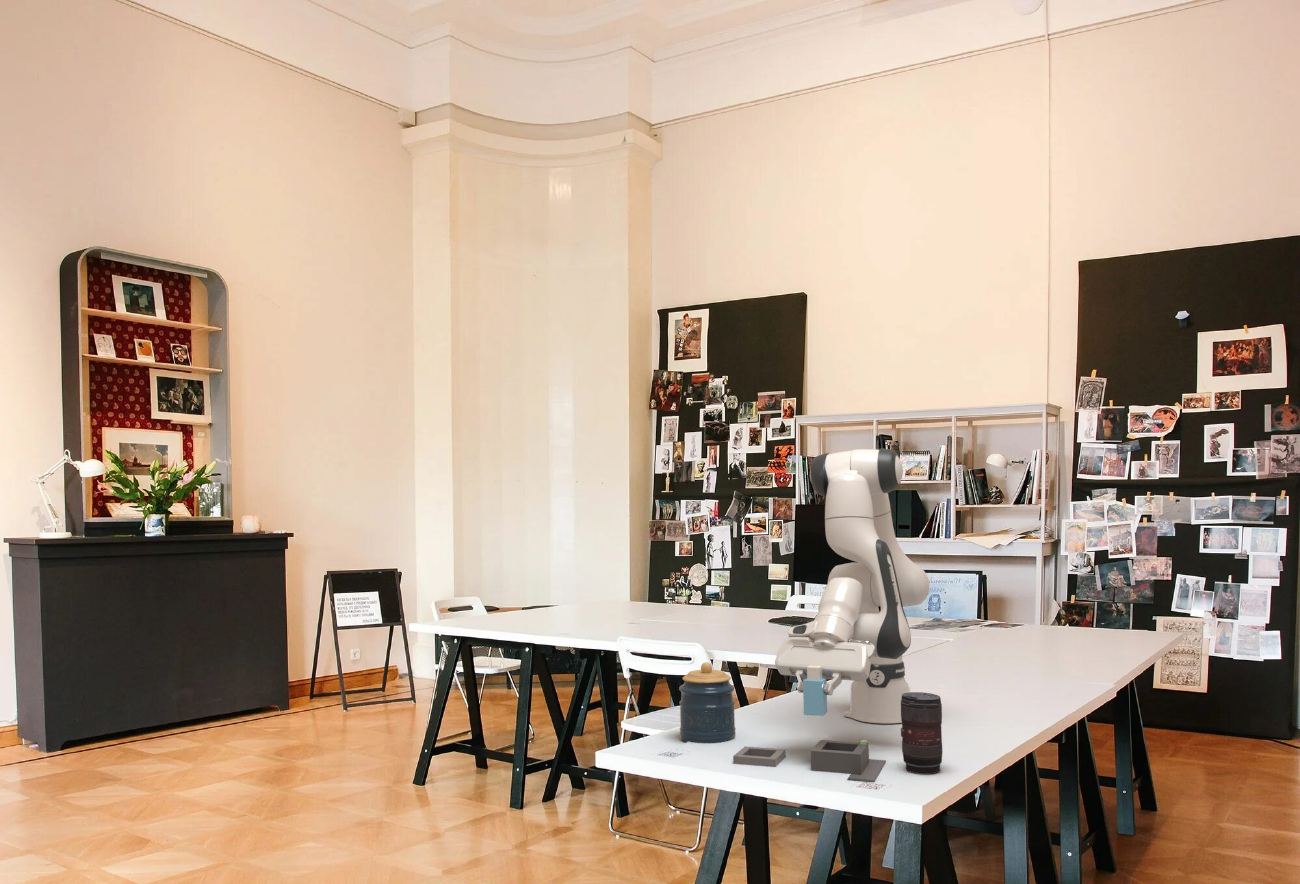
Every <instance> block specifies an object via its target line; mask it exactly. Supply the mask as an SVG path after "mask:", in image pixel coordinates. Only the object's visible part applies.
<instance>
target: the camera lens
mask: <svg viewBox="0 0 1300 884" xmlns="http://www.w3.org/2000/svg"><path fill="white" fill-rule="evenodd" d="M941 699H942V698H941V696H940V695H938V694H935V693H931V692H923V691H922V692H921V691H920V692H919V691H918V692H917V691H916V692H915V691H910V692H908V693H903V694H902V699H901V721H902V723H901V728H900V736H901V738H902V739H901V740H902V741H901V749H902V750H901V751H902V757H903V759H902V760H903V762H904V763H905V769H906V771H907V772H910V773H913V774H921V775H932V774H937V773H939V772H940V771H941V764H942V761H943V739H942V738H943V737H942V723H943V706H942V705H943V704H942V700H941Z"/></svg>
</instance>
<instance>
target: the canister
mask: <svg viewBox="0 0 1300 884" xmlns="http://www.w3.org/2000/svg"><path fill="white" fill-rule="evenodd" d="M731 679H732V677H731V676H730V675H728V674H727V673H726V672H725V671H723V670H718V669H713V666H712V664H711V663H710V662H702V664H701V665H700V669H697V670H695V669H694V670H691V671H689V672H688V673H686V674H685V675H684V676H683V677H682V680H683V681H684V683H683V684H682V685H680V686H679V687H678V690H679V691H680V692H681V699H680V701H679V707H680V709H679V710H680V712H679V714H680V715H679V716H680V719H679V720H680V727H679V731H680V732H679V734H680V739H681V740H682V741H683V742H685V743H689V742H690V743H695V744H720V743H726V742H729V741H732V740H734V739H735V737H736V725H735V723H736V721H735V703H736V701H735V700H734V697H733V692H734V691H735V686H734V685H732V684H731V683H730V680H731Z"/></svg>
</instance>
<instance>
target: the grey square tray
mask: <svg viewBox="0 0 1300 884" xmlns="http://www.w3.org/2000/svg"><path fill="white" fill-rule="evenodd" d="M786 753H787V752H786V749H785V748H773V747H772V748H770V747H759V746H747V745H746V746H743V747H742V748H741V749H740V750H739V751H738V752H736V753H735V754H734V755H732V764H734V765H742V766H744V765H745V766H754V767H755V766H756V767H758V766H759V767H769V768H770V767H771V768H777V766H779V764H781V762H782V761H783V760H784V759H785V758H786V757H787V755H786Z"/></svg>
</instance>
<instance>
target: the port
mask: <svg viewBox="0 0 1300 884" xmlns="http://www.w3.org/2000/svg"><path fill="white" fill-rule="evenodd" d="M869 751H870V748H869V742H868V741H867V740H866V739H864V740H863V739H861V740H860V741H859V742H857V741H845V740H844V741H842V740H828V739H820V740H819V741H818V742H817V743H816V744H815V745H814V747H813V748H812V749H811V750H810V771H813V772H822V773H823V772H825V773H835V774H836V773H837V774H845V775H846V774H847V775H848V774H849V777H848V778H847V779H846V781H853V782H866V783H875V781H876V780H877V778H878V777H879V775H880V773H881V771H882V770H883V768H884V766H885V765H886V763H887V760H884V759H876V758H875V759H874V758H870V752H869Z"/></svg>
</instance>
